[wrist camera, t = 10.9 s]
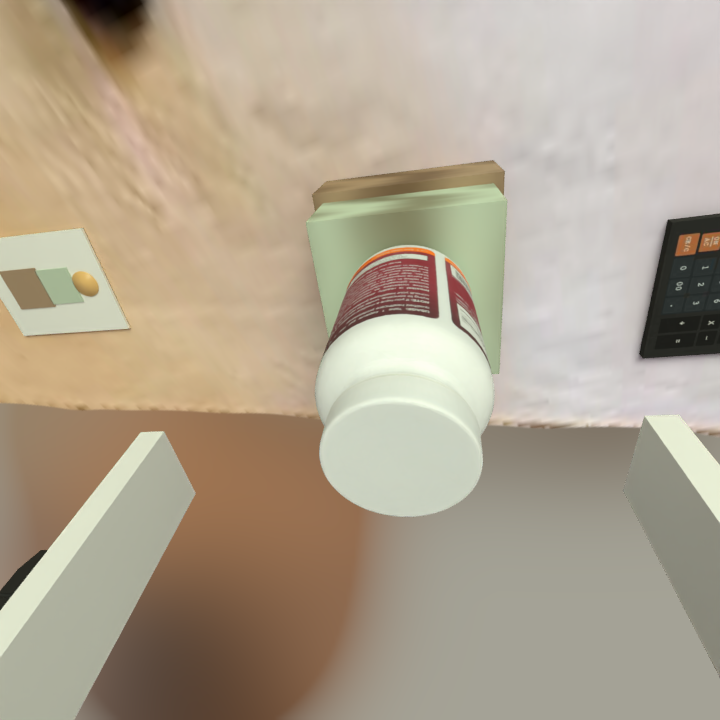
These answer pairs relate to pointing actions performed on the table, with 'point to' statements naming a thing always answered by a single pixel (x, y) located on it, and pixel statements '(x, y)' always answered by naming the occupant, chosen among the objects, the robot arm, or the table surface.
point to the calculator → (686, 291)
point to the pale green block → (416, 232)
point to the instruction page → (56, 284)
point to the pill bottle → (405, 386)
